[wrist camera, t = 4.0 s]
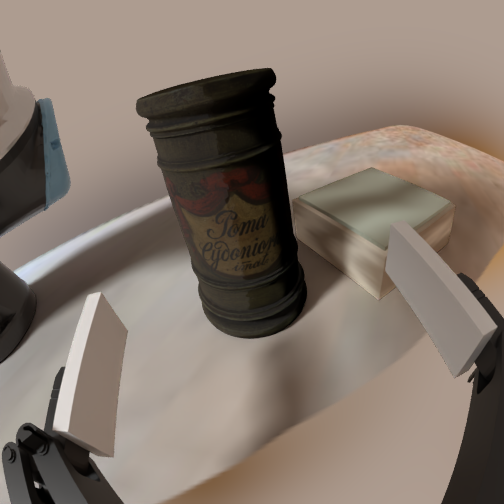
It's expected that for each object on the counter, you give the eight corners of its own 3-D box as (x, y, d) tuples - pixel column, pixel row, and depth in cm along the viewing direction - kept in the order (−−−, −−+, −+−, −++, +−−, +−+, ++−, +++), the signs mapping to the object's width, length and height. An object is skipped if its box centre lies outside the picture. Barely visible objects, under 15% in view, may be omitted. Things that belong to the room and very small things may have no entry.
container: (196, 285, 28) (131, 99, 17) (280, 254, 30) (248, 68, 19) (220, 357, 21) (121, 105, 10) (326, 313, 23) (308, 63, 12)
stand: (296, 237, 31) (291, 196, 28) (370, 201, 35) (371, 165, 32) (378, 300, 22) (386, 252, 19) (448, 242, 26) (456, 201, 23)
